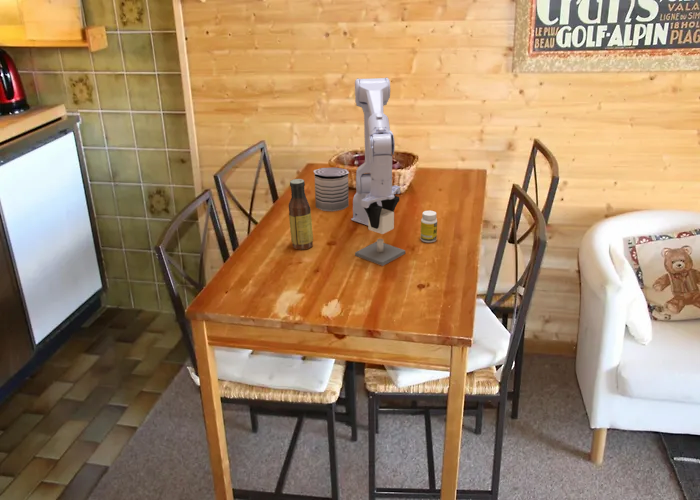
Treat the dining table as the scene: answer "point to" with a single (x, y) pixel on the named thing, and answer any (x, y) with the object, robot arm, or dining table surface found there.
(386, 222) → the box
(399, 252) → the base plate
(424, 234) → the supplement bottle
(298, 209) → the sauce bottle
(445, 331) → the dining table surface
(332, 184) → the can
